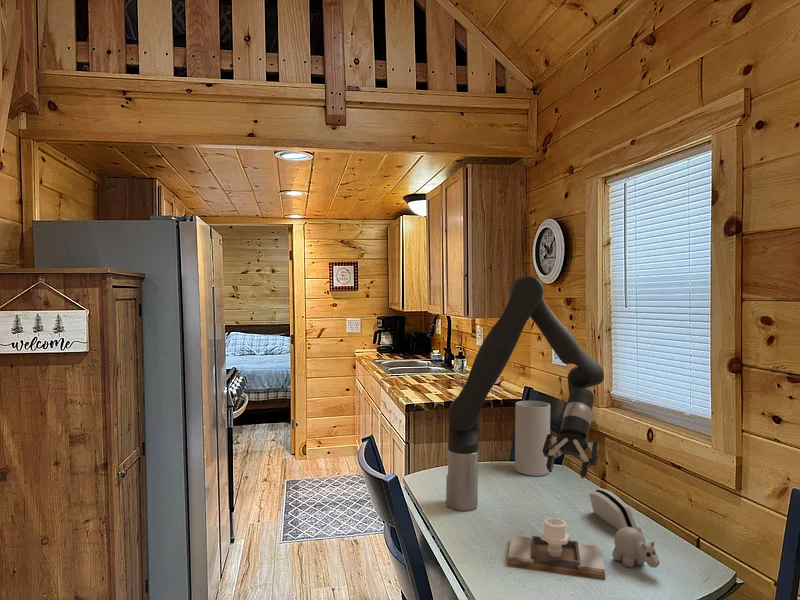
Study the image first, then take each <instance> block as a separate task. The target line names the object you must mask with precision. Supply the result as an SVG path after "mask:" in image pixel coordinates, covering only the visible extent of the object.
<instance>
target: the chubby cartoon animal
mask: <svg viewBox="0 0 800 600" xmlns="http://www.w3.org/2000/svg"><path fill="white" fill-rule="evenodd" d="M613 541H614V546H615V547H614V548H613V551H612V558H613V559H614V560H615V561H619V562H620V561H621V562H622V565H623V566H625V567H626V568H633V567H634V566H635V565H637V566H643V565H644V564H645V562H646V564H647V565H648V567H650V568H653V569H654V568H658V567H659V566H660V559H659V555H658V554H657V553H656V548H655V541H652V542H651V541H650V543H648V542H647V541H646V538H645V536H644V535H643V532H642V533H641V532H639V531H638V530H637V529H635V528H632V527H624V528H621V529H620V530H618V529H617V531H616V533H615V534H614V540H613Z"/></svg>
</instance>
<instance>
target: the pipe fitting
mask: <svg viewBox="0 0 800 600" xmlns="http://www.w3.org/2000/svg"><path fill="white" fill-rule="evenodd" d="M543 525H544V526H543V527H544V529H543V530H542V531H541V533H540V537H541V539H542V540H544V541H546V542H548V554H549V555H550V556H552V557H560V556H561V554H562V545H566V544H567V543H568V541H569V540H570V538H571V537H570V534H569V533H567V523H566V521H565V520H563V519H561V518H557V517H550V518H546V519H544V524H543Z"/></svg>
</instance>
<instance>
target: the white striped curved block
mask: <svg viewBox="0 0 800 600" xmlns="http://www.w3.org/2000/svg"><path fill="white" fill-rule="evenodd" d="M588 496H589V500H590V503H591V507H592V510H593V511H592V512H593V513H594V514H596V515H597V517H600V518H601V519H602V520H604V521H605V522H606V523H608V524H609V525H610V526H612V527H614V528H615V529H616V530H617V531H618V530H620V529H621V528H624V527H632V528H635V529H637V530H638V531H639V532H641V533H642V534H643V531H642V528H641V527H639V526H638V525H637V524H636V522H635V519H634V517H633V514H632V511H631V508H630V507H629V506H628V505H627V504H626V503H625V501H623V500H622V499H621V498H620V497H619V496H617V495H616V494H614V493H613V492H612V491H610V490H608V489H605V488H597V489H596V490H595V491H594V490H592V491H591V492H590V493H589V495H588Z"/></svg>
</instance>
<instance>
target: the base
mask: <svg viewBox="0 0 800 600" xmlns="http://www.w3.org/2000/svg"><path fill="white" fill-rule="evenodd" d="M507 566H508V567H514V568H521V569H529V570H536V571H543V572H550V573H558V574H564V575H565V574H566V575H572V576H579V577H587V578H592V579H600V580H606V568H605V564H604V559H603V555H602V550H601V546H600V545H593V544H585V543H578V541H577V540H570V539H569V541H568V543H567V544H566V545H562V554H561V556H560V557H552V556H550V555H549V554H548V542H546V541H544V540H542V539H541V536H537V535H531V537H530V536H529V537H527V536H520V535H513V534H511V535H510V541H509V548H508V555H507Z"/></svg>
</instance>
